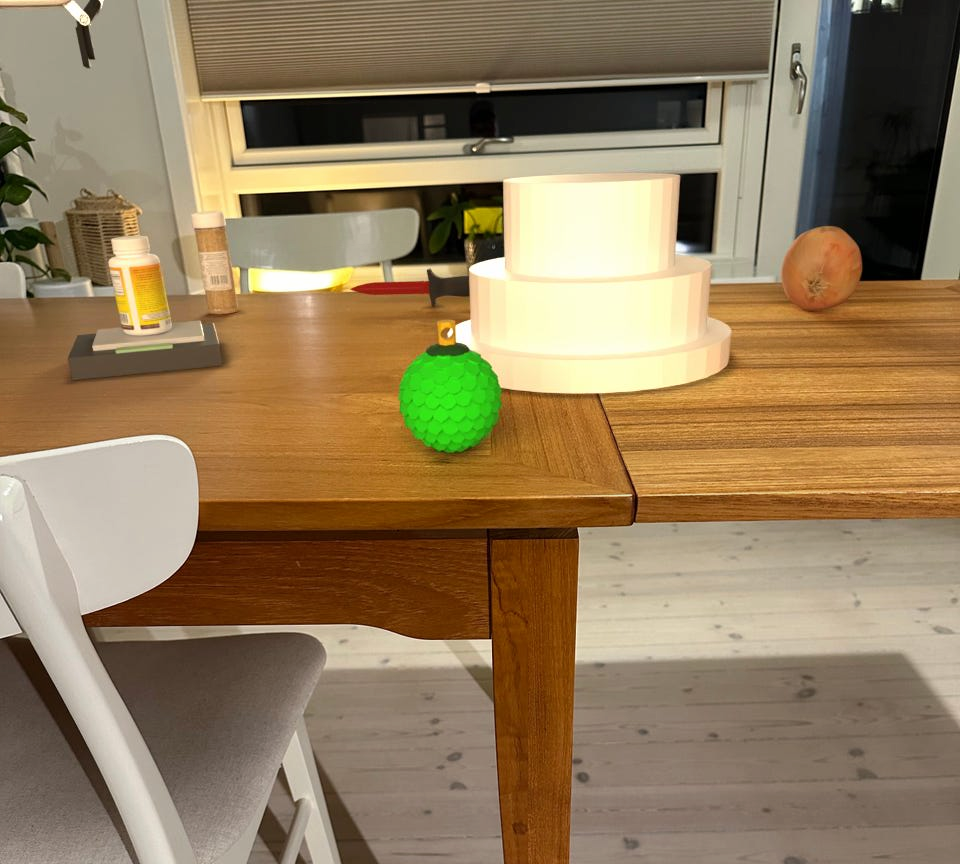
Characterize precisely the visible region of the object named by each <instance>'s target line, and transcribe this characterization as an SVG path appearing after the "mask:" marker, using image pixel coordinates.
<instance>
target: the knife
mask: <svg viewBox="0 0 960 864" xmlns="http://www.w3.org/2000/svg"><path fill="white" fill-rule="evenodd" d="M426 275H427V280H412V281H408V280H407V281H376V282H367V283H363V284H360V285H359V284H358V285H356V286H354V287H351V288H350V289H349V290H350V291H352V292H356V293H359V294H364V295H371V296H388V295H389V296H390V295H391V296H392V295H395V296H397V295H425V294H426V295H429V299H430V304H431V307H434V306H435V305H436V304H437V303H436V301H437V299H438V298H441V297H465V298H467V297H469V298H470V286H469V275H459V276H450V277H449V276H448V277H442V276H438V275H437V274H436V273H434V272H433V270H432V268H427V269H426Z"/></svg>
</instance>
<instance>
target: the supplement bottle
mask: <svg viewBox="0 0 960 864" xmlns="http://www.w3.org/2000/svg"><path fill="white" fill-rule="evenodd" d="M110 241H111V247H112V253H113V255H115V256H112V257H111V258H109V259H108V262H107V264H108V268H109V274H110V279H111V283H112V288H113V292H114V293H113V294H114V297H115V302H116V307H117V310H118V315H119V320H120V326H121V327H122V329H123V331H124V333H126V334H127V335H131V336H147V335H155V334H161V333H164V332H167V331H169V330H170V329H171V327H172V323H173V322H172V318H171V313H170V308H169V302H168V297H167V292H166V286H165V281H164V275H163V270H162V265H161V260H160V258H159V256H158V255H157V254H154V253H150V252H151V245H150V241H149V237H148V236H147V235H126V236H125V235H124V236H119V237H112V238H111V239H110Z"/></svg>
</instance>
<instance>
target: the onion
mask: <svg viewBox="0 0 960 864" xmlns="http://www.w3.org/2000/svg"><path fill="white" fill-rule="evenodd" d="M862 258H863V257H862V254H861V250H860V247H859V245H858V243H857V242H856V241H855V240H854V239H853V238H852V237H851V236H850V235H849V234H848V233H847V232H846V231H845V230H843V229H842V228H841V227H838V226H833V225H824V226H819V227H815V228H812V229H809V230H807V231H804V232H803V233H801V234H800V235H798V236H797V237H796V239H794V240H793V242H792V243H791V245H790V247H789V248H788V250H787V251H786V253H785V255H784V257H783V261H782V264H781V270H780V281H781V285H782V290H783V291H784V294H785V296H786V297H787V298H788V300H789V301H790V302H792V304H794V306H796V307H799V308H800V309H801V310H803V311H809V312H810V311H811V312H813V311H821V310H827V309H831V308H836V307H838V306H840V305H843V304H844V303H845V302H846V301H847V300H849V298H850V297H851V296H852V295H853V294H855V291H856V290H857V288H858V286H859V285H860V280H861V277H862V272H863V259H862Z"/></svg>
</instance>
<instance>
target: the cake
mask: <svg viewBox="0 0 960 864" xmlns="http://www.w3.org/2000/svg"><path fill="white" fill-rule="evenodd" d="M680 184H681V175H680V174H676V173H663V172H661V173H660V172H603V173H602V172H600V173H599V172H598V173H570V174H569V173H565V174H550V175H548V174H547V175H534V176H521V177H512V178H506V179H503V181H502V189H503V191H502V193H503V196H502V197H503V247H504V249H503V251H504V252H503V253H504V254H503V257H497V258H492V259H488V260H484V261H480V262H477V263H475V264H473V265H471V266H470V267H469V268H468V276H469V286H470V296H469V310H470V311H469V312H470V319H468V320H466V321H465V320H464V321H462V322H459V323H457V324H456V342H458V343H463V344H465V345H467V346H468V347H469V349H470V350H472V351H475V352H477V353H479V354H480V355H481V358H483V359H484V360H486V361H487V362H488V363H490V365H491V366H492V370H493V371H494V372H495V373H496V374H497V376H498V380H499V382H498V383H499V385H500V387H501V389H505V390H506V389H507V390H512V391H521V392H523V391H524V392H534V393H544V394H545V393H548V394H609V393H610V394H613V393H626V392H639V391H646V390H647V391H648V390H656V389H663V388H668V387H674V386H680V385H685V384H689V383H692V382H696V381H700V380H704V379H706V378H709V377H710V376H714V375H716V374H718V373H720V372H721V371H723V370H724V368H726V367H727V366H728V364H729V361H730V354H731V352H730V351H731V342H732V341H731V340H732V329H731V328H730V326H729V325H728V324H726V323H725V322H723V321H721V320H720V319H717V318H714V317H710V316H709V306H710V305H709V304H710V296H711V295H710V293H711V282H712V281H711V280H712V269H713V268H712V267H713V264H712V263H711V262H710V261H709V260H707V259H705V258H701V257H696V256H693V255H686V254H678V253H676V249H677V233H678V219H679V217H678V216H679V202H680ZM452 333H453V330H452V328H449V331H448V332H447V337H450V336H451V335H452Z"/></svg>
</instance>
